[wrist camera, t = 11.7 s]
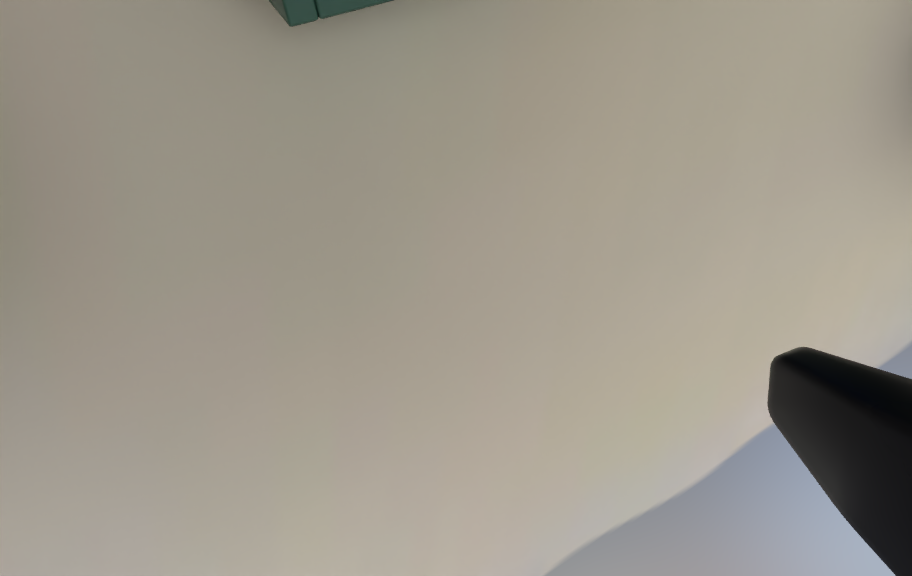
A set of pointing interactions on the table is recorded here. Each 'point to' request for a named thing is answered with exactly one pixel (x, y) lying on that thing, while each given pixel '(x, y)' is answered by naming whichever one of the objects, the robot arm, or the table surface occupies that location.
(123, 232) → the table surface
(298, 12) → the tray
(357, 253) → the table surface
